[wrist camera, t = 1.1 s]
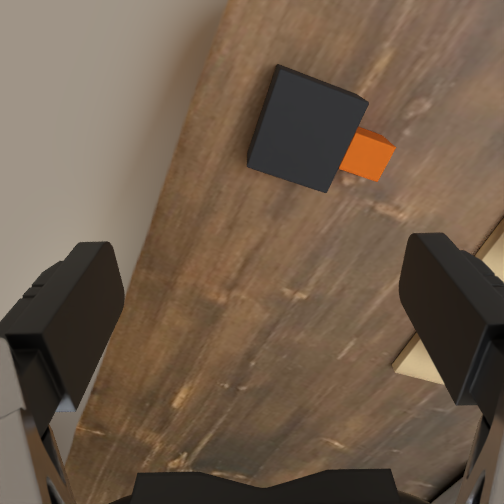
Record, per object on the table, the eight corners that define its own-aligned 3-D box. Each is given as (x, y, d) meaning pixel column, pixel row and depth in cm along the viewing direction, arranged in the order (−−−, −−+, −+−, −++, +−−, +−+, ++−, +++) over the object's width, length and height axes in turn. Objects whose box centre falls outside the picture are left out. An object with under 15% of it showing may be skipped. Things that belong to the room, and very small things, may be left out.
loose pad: (277, 63, 23) (280, 68, 21) (395, 109, 25) (412, 118, 22) (246, 153, 26) (246, 167, 24) (354, 189, 28) (364, 206, 25)
